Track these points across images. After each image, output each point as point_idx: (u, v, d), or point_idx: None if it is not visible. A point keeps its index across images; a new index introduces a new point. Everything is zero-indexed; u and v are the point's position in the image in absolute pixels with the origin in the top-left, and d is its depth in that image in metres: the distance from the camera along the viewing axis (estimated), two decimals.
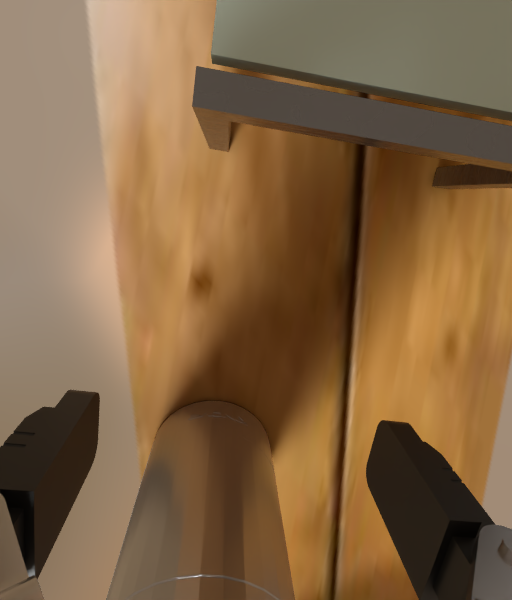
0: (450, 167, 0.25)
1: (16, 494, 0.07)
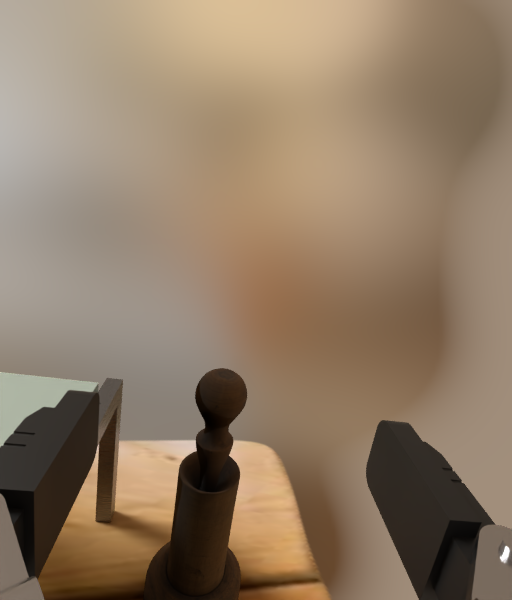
0: None
1: (16, 494, 0.07)
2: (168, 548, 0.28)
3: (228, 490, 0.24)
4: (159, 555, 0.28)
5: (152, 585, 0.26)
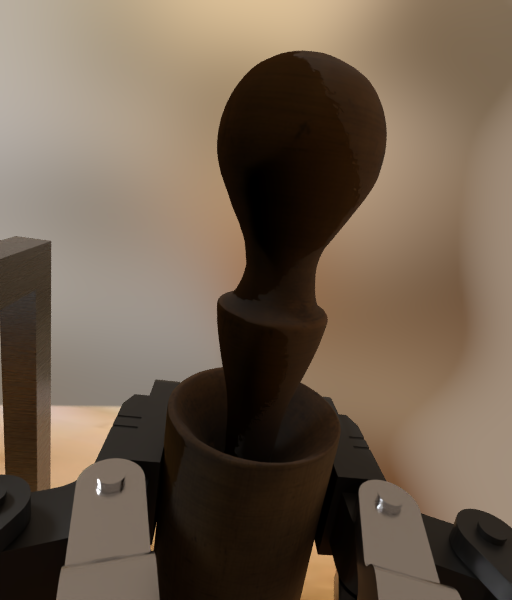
0: None
1: (144, 465, 0.08)
2: None
3: (321, 457, 0.08)
4: None
5: None
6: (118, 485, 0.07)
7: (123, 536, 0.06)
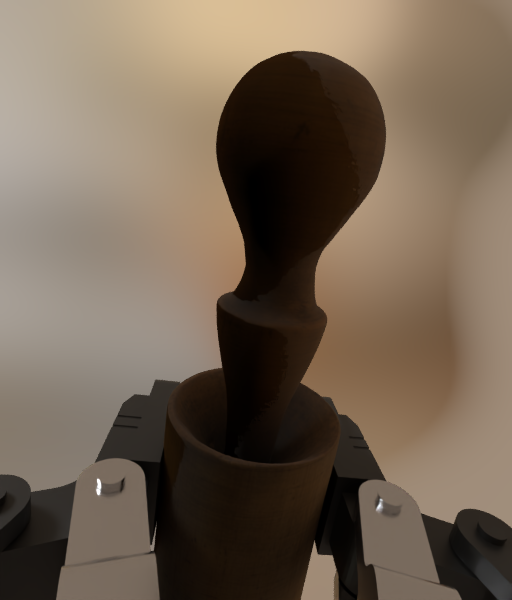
0: None
1: (144, 465, 0.08)
2: None
3: (321, 458, 0.08)
4: None
5: None
6: (119, 486, 0.07)
7: (123, 536, 0.06)
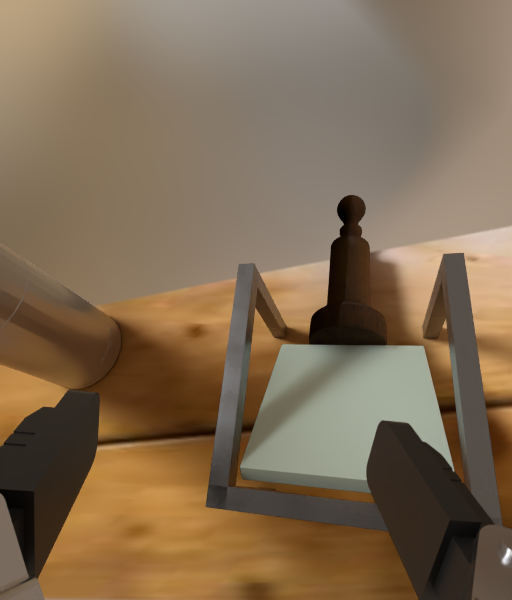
0: None
1: (16, 494, 0.07)
2: None
3: (358, 236, 0.39)
4: None
5: None
6: None
7: None
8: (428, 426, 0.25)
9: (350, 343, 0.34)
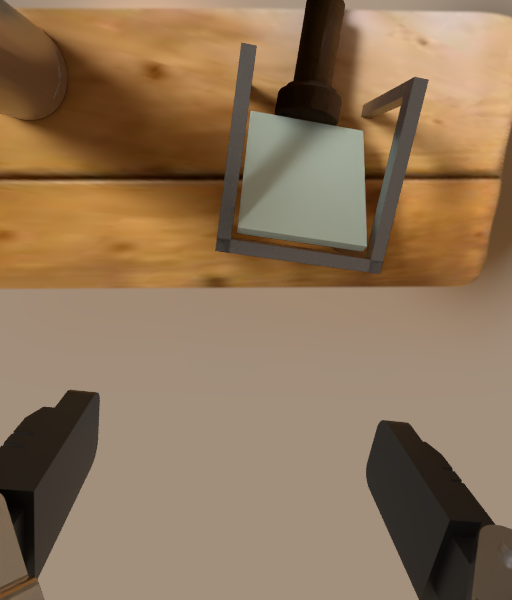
0: None
1: (16, 494, 0.07)
2: None
3: None
4: None
5: None
6: None
7: None
8: (357, 204, 0.38)
9: (309, 119, 0.41)
